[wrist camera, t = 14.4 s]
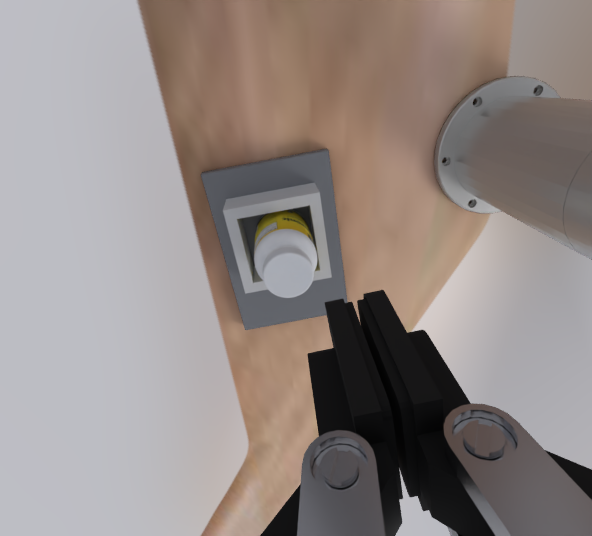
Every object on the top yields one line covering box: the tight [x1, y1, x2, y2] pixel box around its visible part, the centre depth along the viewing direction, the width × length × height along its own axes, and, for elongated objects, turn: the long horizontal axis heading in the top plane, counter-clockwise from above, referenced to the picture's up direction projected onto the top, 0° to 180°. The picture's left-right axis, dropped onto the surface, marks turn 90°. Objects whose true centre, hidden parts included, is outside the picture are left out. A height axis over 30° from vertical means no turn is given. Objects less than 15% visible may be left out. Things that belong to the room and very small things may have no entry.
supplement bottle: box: [254, 209, 317, 298], centre depth 33 cm, size 5×5×10 cm
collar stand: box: [201, 149, 347, 330], centre depth 37 cm, size 12×18×4 cm, turn 10°
